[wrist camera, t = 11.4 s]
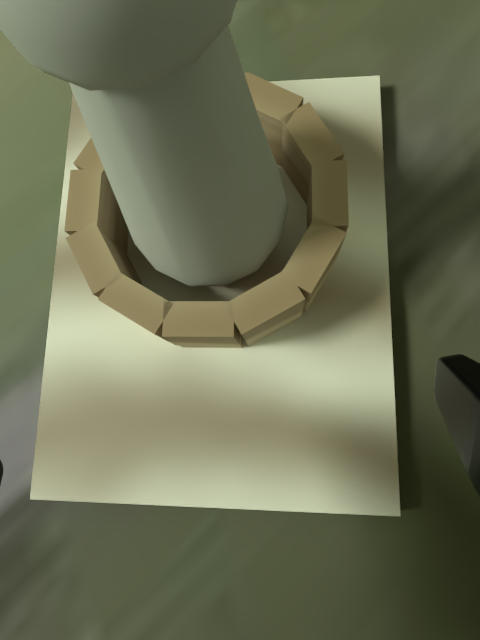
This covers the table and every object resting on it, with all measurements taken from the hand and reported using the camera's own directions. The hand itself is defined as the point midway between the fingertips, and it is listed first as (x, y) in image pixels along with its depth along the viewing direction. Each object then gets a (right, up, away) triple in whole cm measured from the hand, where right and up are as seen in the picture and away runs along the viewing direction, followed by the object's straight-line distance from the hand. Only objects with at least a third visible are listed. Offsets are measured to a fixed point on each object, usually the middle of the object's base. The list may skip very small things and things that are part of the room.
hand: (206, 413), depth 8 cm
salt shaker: (0, +5, +10) cm, 11 cm away
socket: (0, +4, +10) cm, 11 cm away
